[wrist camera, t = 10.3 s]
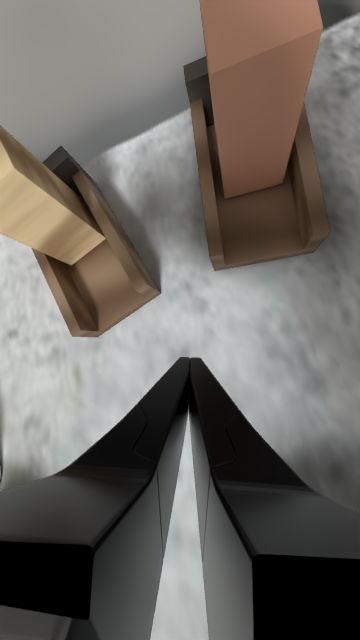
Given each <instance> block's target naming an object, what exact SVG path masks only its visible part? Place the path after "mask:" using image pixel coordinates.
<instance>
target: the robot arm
mask: <svg viewBox="0 0 360 640" xmlns="http://www.w3.org/2000/svg"><path fill="white" fill-rule="evenodd" d="M188 410H189V421H190V432H191V444H192V455H193V466H194V477H195V488H196V499H197V510H198V522H199V533H200V544H201V555H202V563H203V565H202V566H203V578H204V589H205V600H206V611H207V622H208V633H209V640H360V514H359V513H357V512H355V511H353V510H350V509H348V508H346V507H344V506H342V505H340V504H338V503H336V502H334V501H331V500H329V499H327V498H325V497H324V496H322V495H320V494H319V493H317V492H316V491H315V490H313V489H312V488H311V487H310V486H308V485H307V484H306V483H305V482H304V481H303V480H302V479H301V478H300V477H299V476H298V475H297V474H296V473H295V472H294V471H293V470H292V469H291V468H290V467H289V466H288V465H287V464H286V462H285V461H284V460H283V459H282V458H281V457H280V456H279V455H278V454H277V453H276V452H275V451H274V450H273V449H272V448H271V447H270V446H269V444H268V443H267V442H266V441H265V440H264V439H263V438H262V437H261V436H260V435H259V433H258V432H257V431H256V430H255V429H254V428H253V427H252V425H251V424H250V423H249V422H248V420H247V419H246V418H245V416H244V415H243V414H242V412H241V411H240V410H239V409H238V407H237V406H236V405H235V403H234V402H233V401H232V399H231V398H230V397H229V395H228V394H227V393H226V391H225V390H224V389H223V387H222V386H221V385H220V383H219V382H218V381H217V379H216V378H215V377H214V375H213V374H212V373H211V371H210V370H209V369H208V367H207V366H206V365H205V363H204V362H203V361H202V359H201V358H195V357H192V358H191V359H190V358H189V357H180V358H179V359H178V360H177V361H176V362H175V363H174V364H173V366H172V367H171V368H170V369H169V370H168V371H167V372H166V373H165V374H164V375H163V376H162V377H161V378H160V380H159V381H158V382H157V383H156V384H155V385H154V386H153V387H152V388H151V389H150V390H149V391H148V393H147V394H146V395H145V396H144V397H143V398H142V399H141V400H140V401H139V402H138V404H136V405H135V406H134V408H133V409H132V410H131V411H130V412H129V413H128V414H127V415H126V416H125V417H124V418H123V419H122V420H121V421H120V422H119V423H118V424H117V425H115V426H114V427H113V428H112V429H111V430H110V431H109V432H108V433H107V434H105V435H104V436H103V437H102V438H101V439H100V440H98V441H97V442H96V443H95V444H94V445H93V446H91V447H90V448H89V449H88V450H87V451H86V452H85V453H83V454H82V455H81V456H80V457H79V458H78V459H76V460H75V461H74V462H73V463H71V464H70V465H69V466H67V467H66V468H64V469H63V470H61V471H59V472H58V473H56V474H53V475H51V476H48V477H45V478H42V479H39V480H36V481H33V482H29V483H26V484H23V485H20V486H17V487H13V488H10V489H7V490H4V491H1V492H0V640H150V636H151V630H152V624H153V618H154V612H155V607H156V601H157V595H158V589H159V583H160V577H161V571H162V565H163V558H164V553H165V548H166V542H167V536H168V530H169V524H170V518H171V512H172V506H173V501H174V495H175V489H176V483H177V477H178V471H179V465H180V459H181V454H182V448H183V442H184V436H185V430H186V424H187V418H188Z"/></svg>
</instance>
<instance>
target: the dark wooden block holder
mask: <svg viewBox="0 0 360 640" xmlns="http://www.w3.org/2000/svg"><path fill="white" fill-rule="evenodd" d="M184 75H185V82H186V87H187V92H188V96H189V101H190V108H191V116H192V123H193V131H194V139H195V147H196V155H197V163H198V171H199V178H200V186H201V194H202V202H203V210H204V218H205V226H206V233H207V241H208V249H209V257H210V259H211V262H212V265H213V268H214V270H215V271H218V270H223V269H229V268H234V267H239V266H244V265H250V264H255V263H260V262H265V261H271V260H276V259H281V258H287V257H292V256H297V255H302V254H308V253H313V252H314V251H315V250H316V249H317V248H318V246H319V245H320V244H321V243H322V241H323V240H324V239H325V238H326V236H327V235H328V234H329V233H330V227H329V223H328V218H327V213H326V208H325V203H324V198H323V193H322V188H321V183H320V178H319V173H318V168H317V163H316V159H315V154H314V149H313V144H312V139H311V134H310V129H309V124H308V119H307V114H306V109H305V104H304V103H303V106H302V110H301V114H300V118H299V122H298V126H297V129H296V133H295V137H294V141H293V145H292V149H291V152H290V156H289V160H288V164H287V168H286V172H285V175H284V179H283V183H282V184H279V185H275V186H271V187H267V188H264V189H260V190H256V191H252V192H249V193H245V194H241V195H238V196H234V197H230V198H226V199H225V198H224V191H223V184H222V177H221V170H220V163H219V155H218V148H217V140H216V132H215V124H214V116H213V108H212V99H211V91H210V83H209V75H208V67H207V58H206V56H205V57H203V58H201V59H199V60H196V61H194V62H192V63H190V64H187V65H185V66H184Z"/></svg>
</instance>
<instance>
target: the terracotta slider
mask: <svg viewBox="0 0 360 640" xmlns="http://www.w3.org/2000/svg"><path fill="white" fill-rule="evenodd" d="M199 1H200V9H201V18H202V26H203V33H204V42H205V50H206V58H207V67H208V75H209V83H210V91H211V99H212V108H213V116H214V124H215V132H216V140H217V148H218V155H219V163H220V170H221V177H222V184H223V191H224V198H225V199H226V198H230V197H234V196H238V195H241V194H245V193H249V192H252V191H256V190H260V189H264V188H267V187H271V186H275V185H279V184H282V183H283V179H284V175H285V172H286V168H287V164H288V160H289V156H290V152H291V149H292V145H293V141H294V137H295V133H296V129H297V126H298V122H299V118H300V114H301V110H302V106H303V103H304V99H305V95H306V91H307V87H308V83H309V80H310V76H311V72H312V68H313V64H314V60H315V57H316V53H317V49H318V45H319V41H320V37H321V34H322V30H323V25H322V20H321V16H320V11H319V7H318V3H317V0H199Z"/></svg>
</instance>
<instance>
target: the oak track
mask: <svg viewBox="0 0 360 640" xmlns="http://www.w3.org/2000/svg"><path fill="white" fill-rule="evenodd" d="M43 164H44V165H45V166H46V167H47V168H48V169H49V170H51V171H52V172H53V173H54V174H55V175H56V176H57V177H58V178H59V179H61V180H62V181H63V182H64V183H65V184H66V185H67V186H68V187H69V188H71V189H72V190H73V191H74V192H75V193H76V194H77V195H78V196H79V197H81V198H82V199H83V200H84V201H85V202H86V204H87V206H88V207H89V209H90V211H91V213H92V214H93V216H94V218H95V220H96V222H97V223H98V225H99V227H100V229H101V230H102V232H103V234H104V236H105V238H106V239H105V240H103V241H102V242H101V243H100V244H98V245H97V246H96V247H95V248H93V249H92V250H91V251H89V252H88V253H87V254H86V255H84V256H83V257H82V258H81V259H79V260H78V261H77V262H75V263H74V264H73V265H72V266H71V265H69V264H67V263H65V262H62V261H60V260H58V259H56V258H53V257H51V256H49V255H47V254H45V253H42V252H40V251H38V250H36V249H33V248H32V250H33V252H34V255H35V257H36V259H37V261H38V263H39V265H40V268H41V270H42V272H43V274H44V276H45V279H46V281H47V283H48V285H49V287H50V289H51V292H52V294H53V296H54V298H55V300H56V302H57V305H58V307H59V309H60V311H61V313H62V316H63V318H64V320H65V322H66V324H67V326H68V329H69V331H70V333H71V335H72V337H99V336H100V335H101V334H103V333H104V332H106V331H107V330H109V329H110V328H112V327H113V326H114V325H116V324H117V323H119V322H120V321H122V320H123V319H125V318H126V317H128V316H129V315H130V314H132V313H133V312H135V311H136V310H138V309H139V308H141V307H142V306H143V305H145V304H146V303H148V302H149V301H151V300H152V299H154V298H155V297H156V296H158V295H159V294H161V292H160V290H159V289H158V287H157V285H156V284H155V282H154V280H153V279H152V277H151V275H150V274H149V272H148V270H147V269H146V267H145V265H144V263H143V262H142V260H141V258H140V257H139V255H138V253H137V252H136V250H135V248H134V247H133V245H132V243H131V242H130V240H129V238H128V236H127V235H126V233H125V231H124V230H123V228H122V226H121V225H120V223H119V221H118V220H117V218H116V216H115V215H114V213H113V211H112V209H111V208H110V206H109V204H108V203H107V201H106V199H105V198H104V196H103V194H102V193H101V191H100V189H99V188H98V186H97V184H96V183H95V182H94V180H93V179H92V178H91V177H90V176H89V175H88V174H87V173H86V172H85V171H84V170H83V168H82V167H81V166H80V165H79V164H78V163H77V162H76V161H75V160H74V159H73V158H72V157H71V156H70V155H69V154H68V153H67V151H65V149H64V148H63V147H62V146H60V147H59V148H58V149H57V150H56V151H54V152H53V153H52V154H51V155H50V156H49V157H48V158H47V159H46V160H45V161H44V162H43Z"/></svg>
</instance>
